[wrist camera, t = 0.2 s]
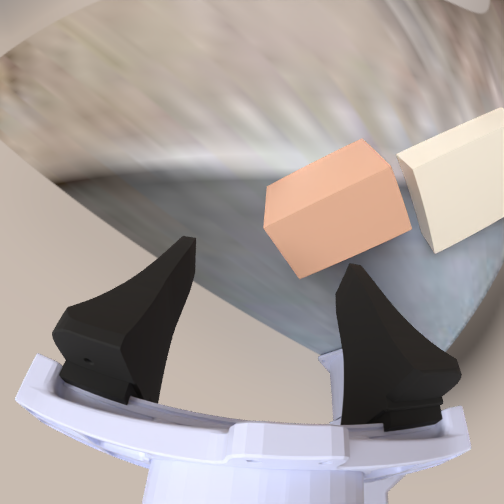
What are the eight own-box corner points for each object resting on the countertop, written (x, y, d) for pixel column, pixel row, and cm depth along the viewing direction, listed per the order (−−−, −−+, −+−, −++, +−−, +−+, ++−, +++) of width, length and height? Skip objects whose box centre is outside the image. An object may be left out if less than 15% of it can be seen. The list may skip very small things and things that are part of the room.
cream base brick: (510, 182, 18) (531, 199, 15) (419, 230, 22) (434, 253, 20) (498, 106, 14) (523, 116, 11) (394, 152, 19) (412, 169, 16)
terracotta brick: (383, 188, 20) (412, 229, 15) (295, 229, 23) (299, 279, 18) (361, 138, 18) (390, 166, 13) (267, 185, 21) (263, 227, 16)
